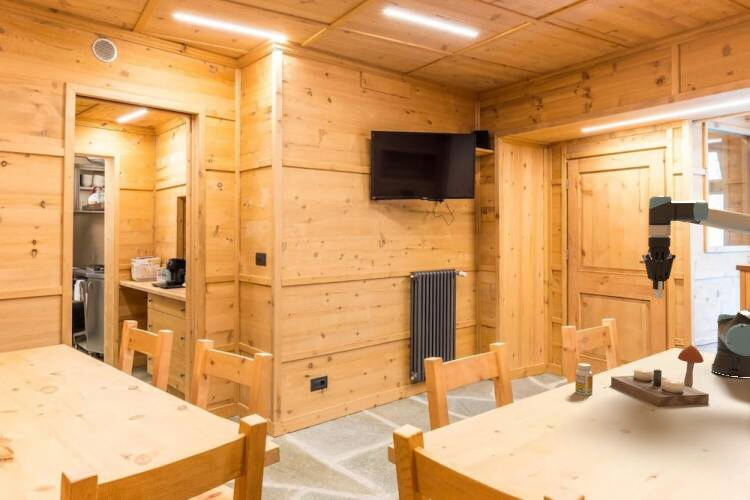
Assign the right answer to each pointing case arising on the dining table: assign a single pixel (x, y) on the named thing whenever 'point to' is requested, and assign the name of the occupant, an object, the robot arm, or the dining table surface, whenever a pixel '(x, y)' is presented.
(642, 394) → the console
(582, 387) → the supplement bottle
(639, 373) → the knob
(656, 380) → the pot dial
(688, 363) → the mushroom
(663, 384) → the knob
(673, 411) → the dining table surface
